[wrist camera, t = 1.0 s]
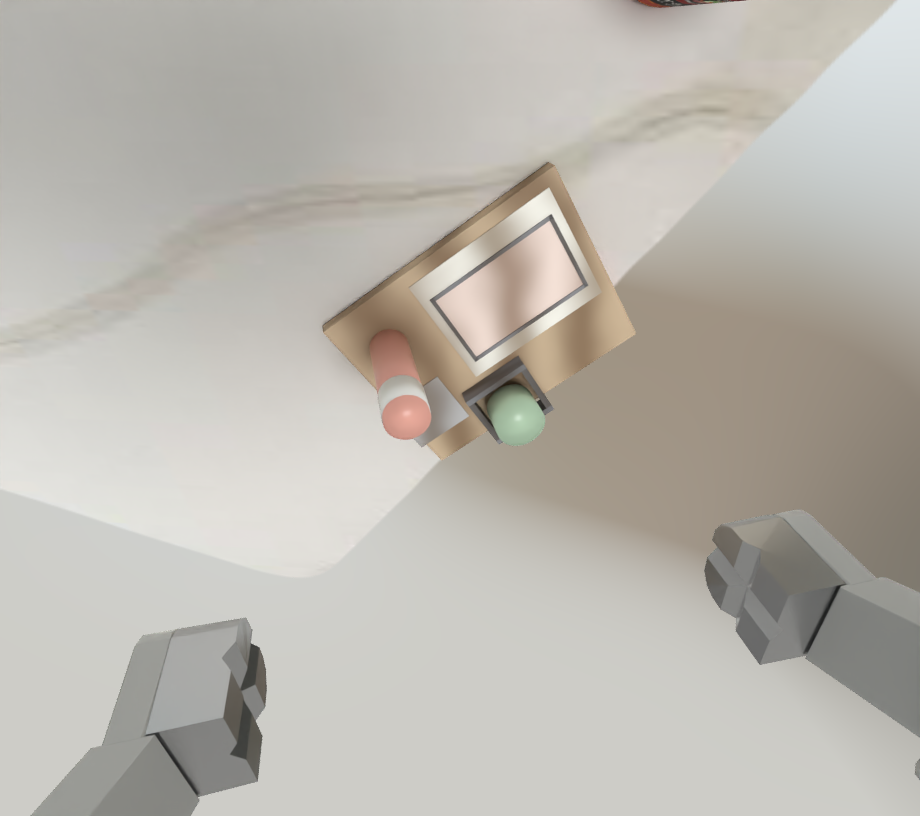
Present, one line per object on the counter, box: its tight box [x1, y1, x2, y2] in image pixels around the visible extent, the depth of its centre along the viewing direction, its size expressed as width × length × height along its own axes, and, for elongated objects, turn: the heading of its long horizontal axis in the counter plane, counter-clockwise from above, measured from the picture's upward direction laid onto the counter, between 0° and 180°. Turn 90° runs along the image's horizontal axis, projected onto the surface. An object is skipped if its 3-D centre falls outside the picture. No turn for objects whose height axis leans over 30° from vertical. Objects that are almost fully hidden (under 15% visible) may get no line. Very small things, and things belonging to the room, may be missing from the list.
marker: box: [369, 329, 431, 440], centre depth 38 cm, size 3×3×10 cm
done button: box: [487, 384, 545, 446], centre depth 45 cm, size 4×4×3 cm
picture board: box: [323, 162, 636, 460], centre depth 44 cm, size 20×17×3 cm
